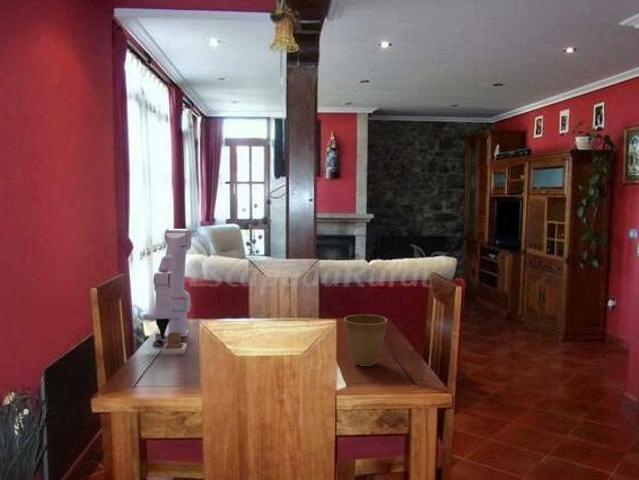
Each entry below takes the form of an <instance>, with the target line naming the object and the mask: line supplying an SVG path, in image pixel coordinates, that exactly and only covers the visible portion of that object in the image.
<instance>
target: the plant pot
mask: <svg viewBox="0 0 639 480" xmlns="http://www.w3.org/2000/svg"><path fill="white" fill-rule="evenodd" d="M343 320H344V321H343V322H344V329H345V330H344V331H345V335H346V340H347V344H348V347H349V351H350V352H349V353H350V354H351V358H352V360H353V361H352V362H353V364H354V363H355V364H357V365H366V366H368V365H374V364H375V365H376V364H377V361H378V360H379V355H380V353H381V350H382V347H383V342H384V340H385V335H386V330H387V323H388V319H387V318H386V317H384V316H380V315H376V314H353V315H348V316H345V317H344V318H343ZM355 364H354V365H355ZM357 365H356V366H357ZM375 365H374V366H375Z"/></svg>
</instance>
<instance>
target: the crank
mask: <svg viewBox="0 0 639 480" xmlns="http://www.w3.org/2000/svg"><path fill="white" fill-rule="evenodd" d="M154 335H155V340H154V341H155V342H164V341H166V343H168V335H167V334H165V335H164V339H161V334H160V331H158V332H156V333H155V334H154Z"/></svg>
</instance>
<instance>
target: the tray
mask: <svg viewBox="0 0 639 480" xmlns="http://www.w3.org/2000/svg"><path fill="white" fill-rule="evenodd" d="M187 349H188V344H187V342H184V343H183V342H181V348H169V349H168V342H166V343H165V344H164V346H161V349H160V355H162V356H163V355H164V356H167V355H169V356H170V355H173V356H174V355H175V356H176V355H178V356H179V355H182V356H183V355H185V354H186V352H187V351H186V350H187Z"/></svg>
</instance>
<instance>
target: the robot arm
mask: <svg viewBox="0 0 639 480" xmlns="http://www.w3.org/2000/svg"><path fill="white" fill-rule="evenodd" d="M192 235H193V234H192V230H191V229H190V228H169V227H168V228H166V230H165V231H164V242H165V244H166V246H167V247H166V252H165V256H162V258H161V259H160V260H161V261H160V263H159V266H158V270H157V271H156V272H155V273H154V275H153V286H154V292H155V313H143V314H142V321H155V324H156V326H157V328H158V330H159V331H158V332H160V334H161V339H164V335H168V334H169V333H176V332H179V333H181V337H187V335H188V334H189V331H190V330H189V329H187V318H188V317H187V316H188V315H187V314H188V313H189V312H190V311H191V308H192V307H191V306H192V302H191V294H190V293H189V292H188V291H187V290H185V275H186V262H187V261H186V259H187V258H186V257H187V251H189V250H190V249H191V248H192V247H191V246H192ZM167 327H168V332H167V334H165V333H166V330H167Z"/></svg>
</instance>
